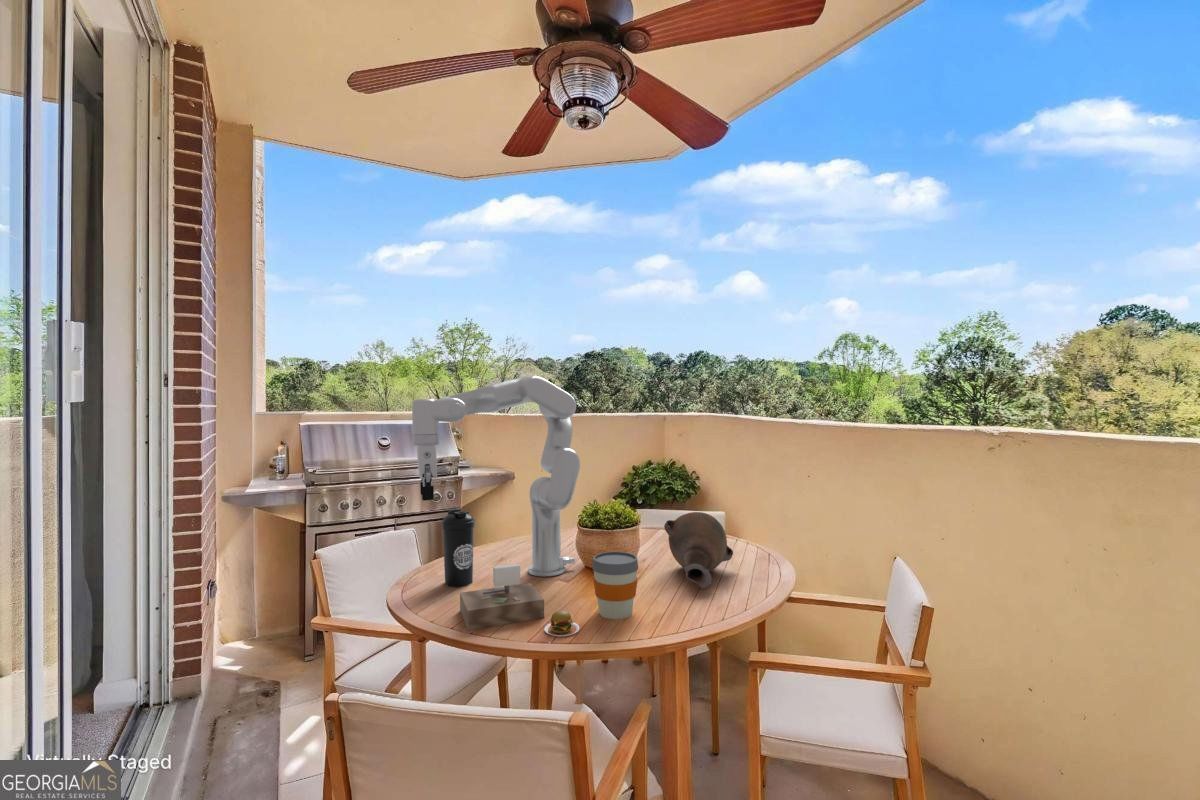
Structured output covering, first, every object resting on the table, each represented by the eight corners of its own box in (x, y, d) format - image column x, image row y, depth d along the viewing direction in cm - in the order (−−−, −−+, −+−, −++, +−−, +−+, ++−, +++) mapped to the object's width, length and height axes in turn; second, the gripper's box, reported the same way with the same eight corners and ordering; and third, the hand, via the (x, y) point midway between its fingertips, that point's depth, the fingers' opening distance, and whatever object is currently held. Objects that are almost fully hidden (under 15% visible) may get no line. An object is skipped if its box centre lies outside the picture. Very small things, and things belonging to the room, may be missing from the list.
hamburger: (595, 631, 143) (595, 609, 143) (562, 647, 134) (561, 624, 134) (562, 619, 151) (561, 598, 151) (528, 633, 142) (528, 611, 142)
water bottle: (450, 590, 172) (450, 515, 171) (437, 582, 179) (436, 510, 179) (480, 583, 178) (480, 510, 178) (466, 575, 186) (465, 505, 186)
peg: (518, 588, 157) (518, 563, 157) (520, 590, 155) (520, 565, 155) (482, 593, 154) (481, 567, 154) (483, 596, 152) (483, 570, 152)
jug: (678, 559, 202) (668, 603, 173) (666, 508, 199) (654, 544, 171) (735, 551, 196) (735, 596, 168) (723, 499, 194) (720, 535, 165)
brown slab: (530, 600, 163) (530, 582, 163) (544, 617, 150) (544, 598, 150) (460, 610, 155) (459, 591, 155) (468, 630, 142) (467, 609, 142)
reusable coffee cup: (611, 600, 162) (611, 548, 162) (647, 611, 154) (647, 556, 154) (583, 614, 152) (582, 558, 152) (620, 625, 144) (619, 567, 144)
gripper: (441, 441, 161) (442, 501, 161) (436, 437, 177) (437, 491, 178) (413, 443, 159) (414, 503, 159) (411, 438, 175) (412, 493, 175)
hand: (427, 497), depth 168 cm, fingers open, 9 cm apart
